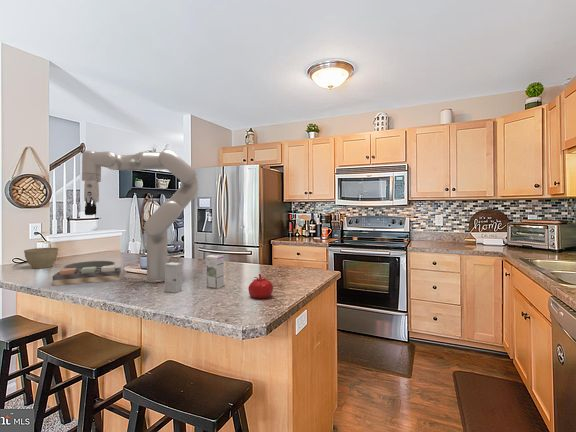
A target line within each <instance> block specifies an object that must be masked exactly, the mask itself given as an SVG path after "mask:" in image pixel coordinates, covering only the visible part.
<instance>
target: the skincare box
mask: <svg viewBox="0 0 576 432" xmlns="http://www.w3.org/2000/svg"><path fill="white" fill-rule="evenodd" d="M182 287H183V263H182V262H172V261H171V262H167V264H165V281H164V292H165V293H166V292H167V293H174V294H176V293H178V292H181V291H183V290H182Z"/></svg>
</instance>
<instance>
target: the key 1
mask: <svg viewBox="0 0 576 432" xmlns="http://www.w3.org/2000/svg"><path fill="white" fill-rule="evenodd" d="M59 272H60V275H67V274H75V273H76V268H67V269H64V268H62V269H60V270H59Z"/></svg>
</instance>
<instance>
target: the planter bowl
mask: <svg viewBox="0 0 576 432" xmlns="http://www.w3.org/2000/svg"><path fill="white" fill-rule="evenodd" d="M23 252H24V257H25V260H26V262H27V263H28V265H30V266H31V268H32V269H46V268H50V267H52V266H53V264H54V263H55V261H56V260H57V258H58V252H59V247H38V248H36V247H35V248H30V249H24V251H23Z"/></svg>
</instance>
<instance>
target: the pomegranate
mask: <svg viewBox="0 0 576 432" xmlns="http://www.w3.org/2000/svg"><path fill="white" fill-rule="evenodd" d="M253 278H254V279H253V280H252V281H251V283H249V285H248V287H247V289H248V294H249V296H250V297H251V298H252V299H253V298H254V299H261V298H263V299H267V298H269V297H270V296H271V295H272V293H273V291H274V285H273V283H272V282H271V281H270V280H268V277H264V276H262V274H261V273H259V274H258V277H257V276H255V277H253ZM266 297H267V298H266Z"/></svg>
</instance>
